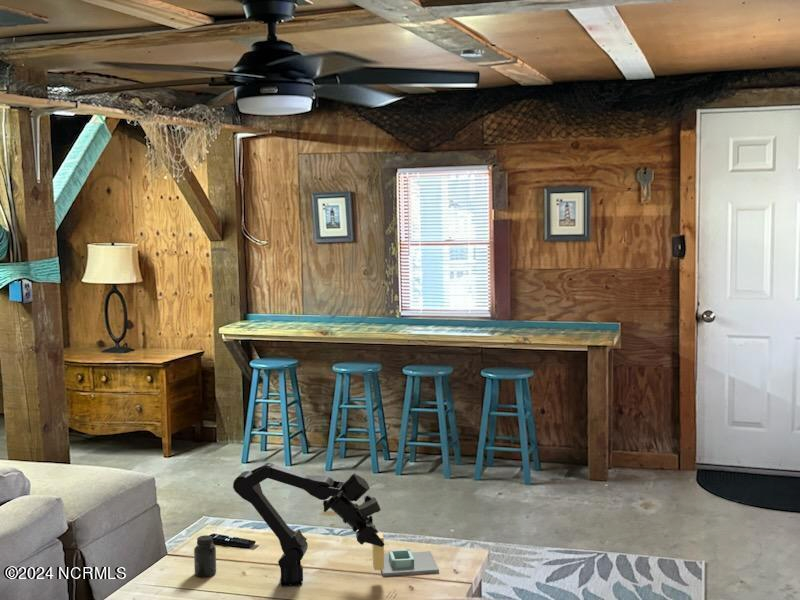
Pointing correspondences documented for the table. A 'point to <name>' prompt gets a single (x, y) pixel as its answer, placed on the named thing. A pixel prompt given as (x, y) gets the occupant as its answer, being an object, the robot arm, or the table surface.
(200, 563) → the supplement bottle
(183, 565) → the table surface
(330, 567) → the table surface
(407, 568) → the plate
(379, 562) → the block
